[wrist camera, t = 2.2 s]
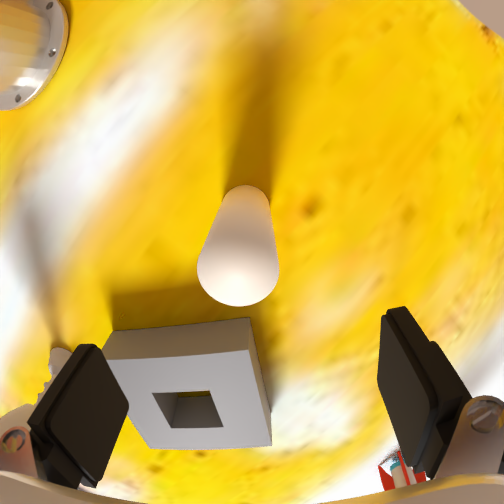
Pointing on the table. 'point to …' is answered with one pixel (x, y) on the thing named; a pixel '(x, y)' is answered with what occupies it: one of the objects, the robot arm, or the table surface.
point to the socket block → (193, 385)
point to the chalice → (24, 412)
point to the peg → (240, 250)
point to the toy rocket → (400, 475)
